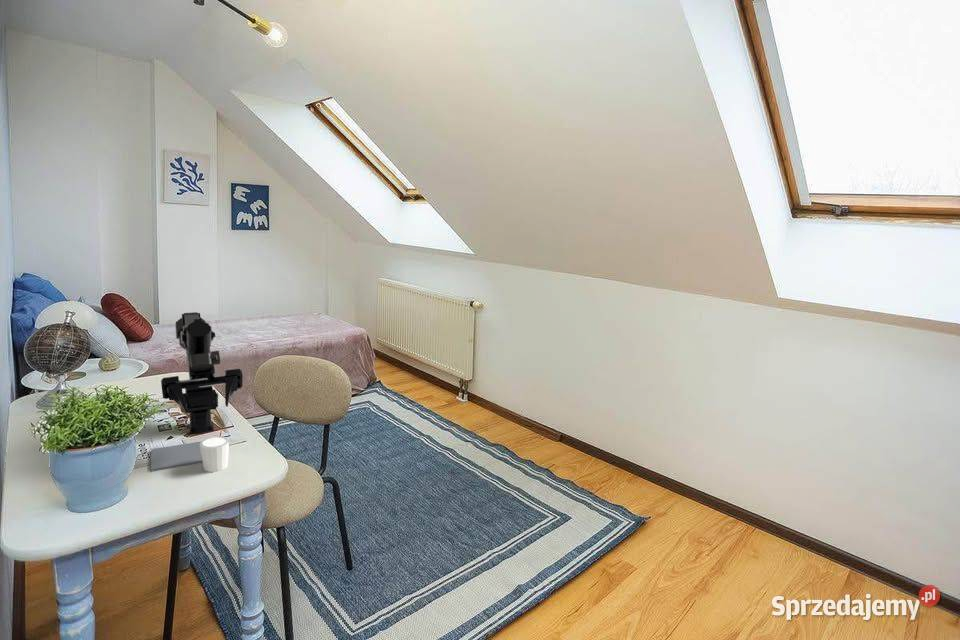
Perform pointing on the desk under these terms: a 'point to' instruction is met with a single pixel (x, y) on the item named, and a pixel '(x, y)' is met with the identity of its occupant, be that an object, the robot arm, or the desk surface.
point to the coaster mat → (175, 456)
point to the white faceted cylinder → (214, 453)
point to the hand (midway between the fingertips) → (206, 408)
